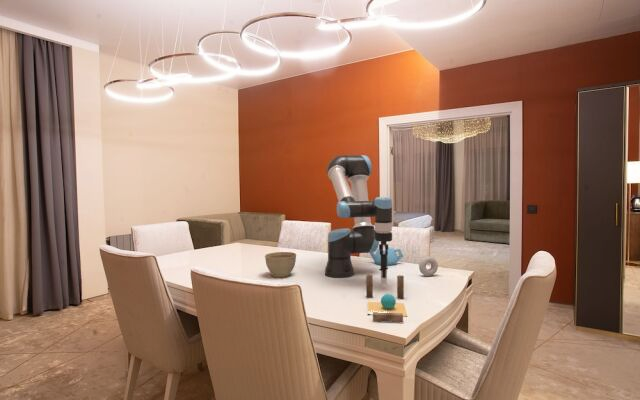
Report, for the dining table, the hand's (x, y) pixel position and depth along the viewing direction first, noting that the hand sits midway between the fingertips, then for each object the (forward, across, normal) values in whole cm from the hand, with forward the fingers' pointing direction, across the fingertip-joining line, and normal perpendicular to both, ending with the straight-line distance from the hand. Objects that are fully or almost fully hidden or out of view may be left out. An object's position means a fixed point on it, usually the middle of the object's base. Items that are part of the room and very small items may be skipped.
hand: (383, 284), depth 164 cm
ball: (-1, -26, -1) cm, 27 cm away
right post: (+2, -13, -6) cm, 15 cm away
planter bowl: (+2, +19, +52) cm, 55 cm away
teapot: (+2, +51, -3) cm, 52 cm away
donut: (+2, +24, -23) cm, 33 cm away
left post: (+2, -13, +6) cm, 15 cm away
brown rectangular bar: (+2, -39, 0) cm, 39 cm away
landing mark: (+2, -27, 0) cm, 27 cm away
